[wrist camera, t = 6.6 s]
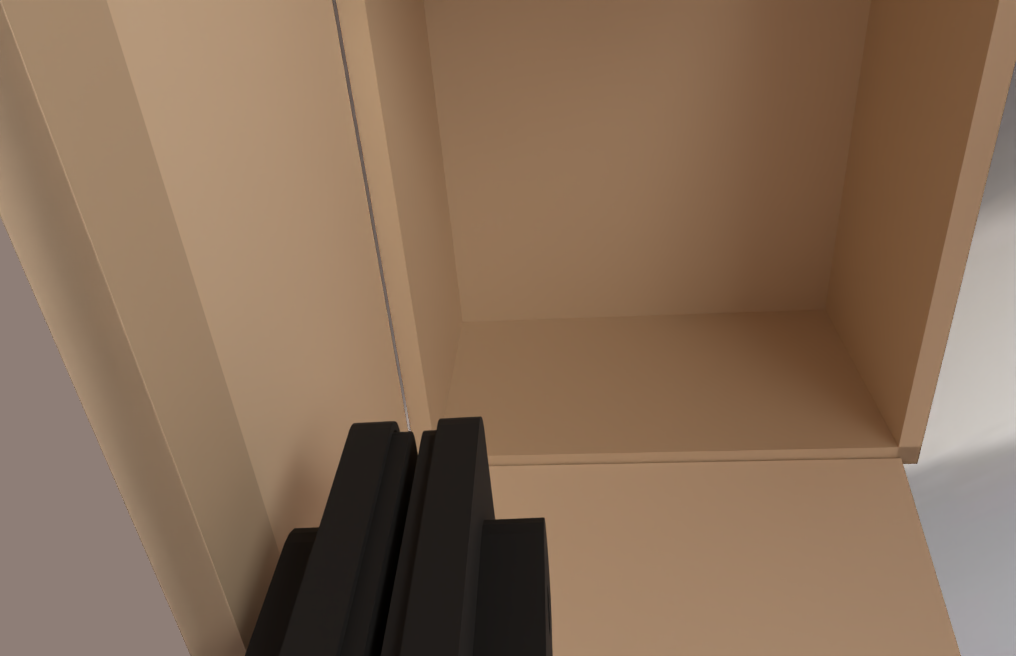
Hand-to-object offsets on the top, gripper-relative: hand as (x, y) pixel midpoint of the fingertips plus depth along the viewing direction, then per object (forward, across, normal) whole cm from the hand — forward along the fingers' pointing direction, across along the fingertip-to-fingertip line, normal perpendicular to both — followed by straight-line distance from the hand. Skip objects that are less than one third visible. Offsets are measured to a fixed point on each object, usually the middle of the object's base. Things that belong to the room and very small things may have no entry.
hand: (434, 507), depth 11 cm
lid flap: (+4, +2, -1) cm, 4 cm away
